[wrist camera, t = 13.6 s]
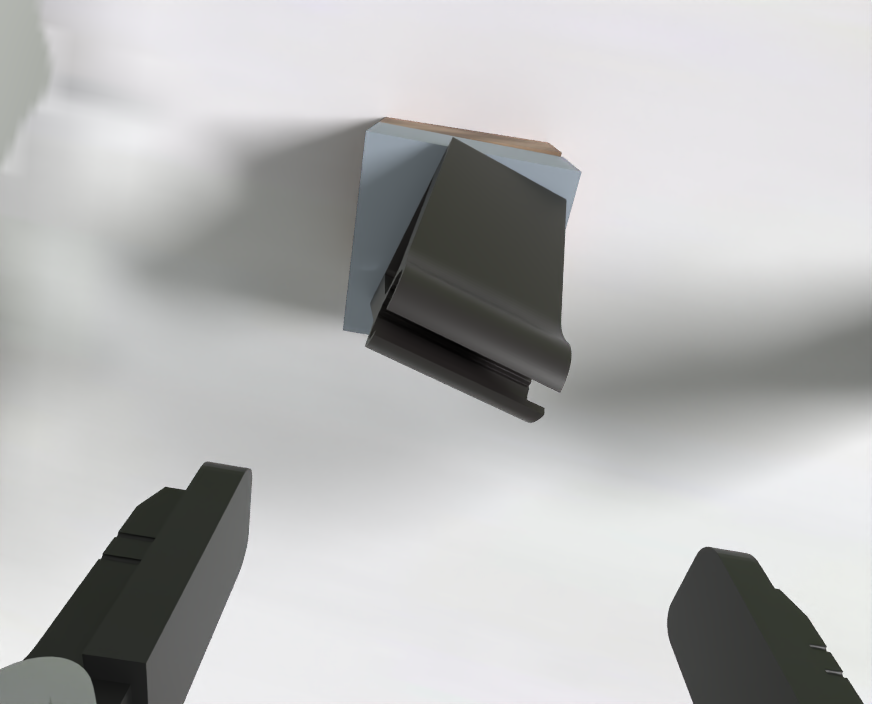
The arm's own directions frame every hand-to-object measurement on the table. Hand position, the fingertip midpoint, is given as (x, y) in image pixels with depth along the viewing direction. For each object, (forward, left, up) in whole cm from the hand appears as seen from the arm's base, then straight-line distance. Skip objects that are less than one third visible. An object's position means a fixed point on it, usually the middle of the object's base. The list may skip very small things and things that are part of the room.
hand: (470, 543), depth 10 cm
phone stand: (0, 0, -20) cm, 20 cm away
